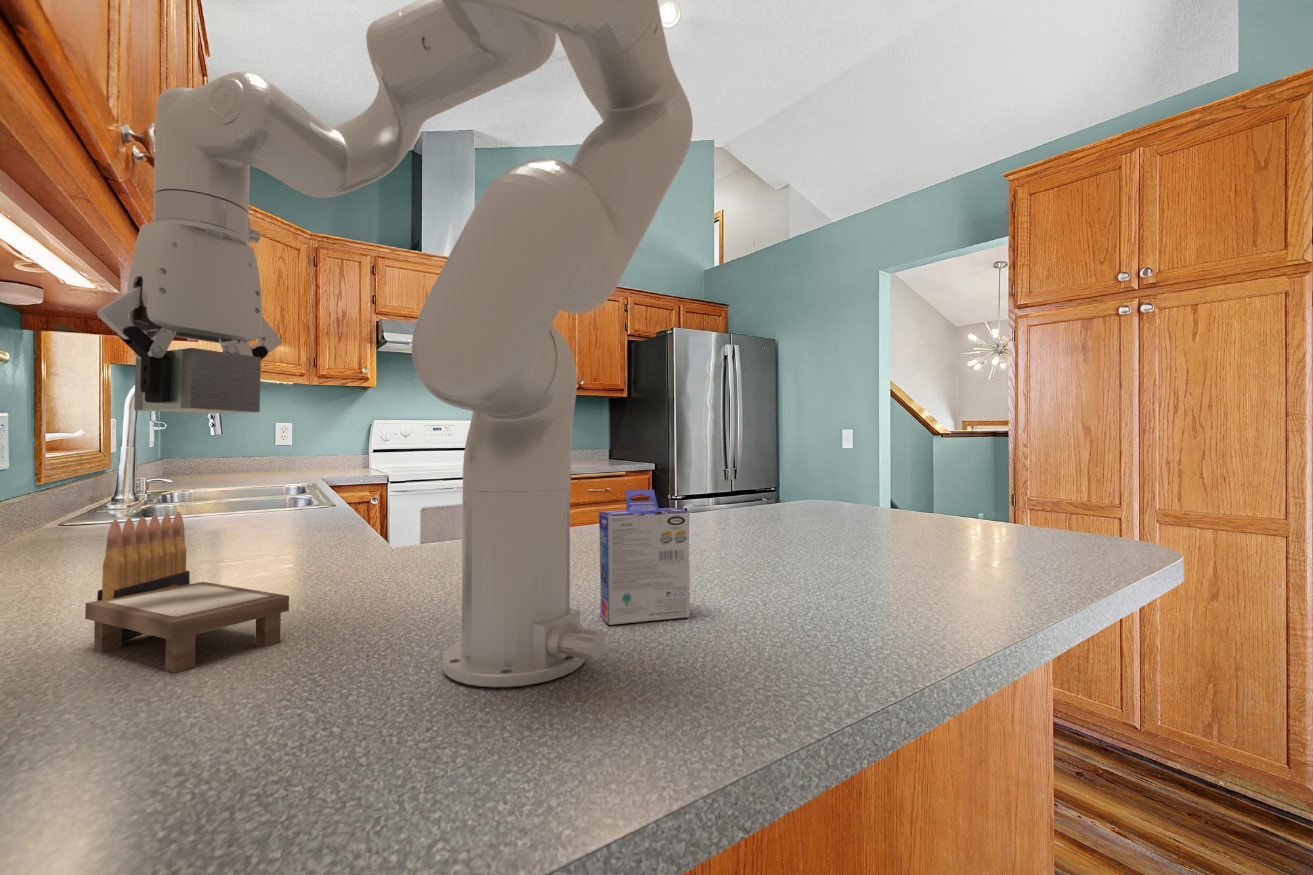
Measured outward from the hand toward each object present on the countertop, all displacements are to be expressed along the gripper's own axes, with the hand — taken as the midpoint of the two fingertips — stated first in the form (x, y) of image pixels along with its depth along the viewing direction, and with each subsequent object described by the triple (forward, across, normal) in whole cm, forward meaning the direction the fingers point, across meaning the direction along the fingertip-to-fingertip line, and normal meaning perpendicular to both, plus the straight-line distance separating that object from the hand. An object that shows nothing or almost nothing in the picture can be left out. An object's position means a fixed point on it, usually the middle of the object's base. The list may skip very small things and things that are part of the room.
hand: (197, 402), depth 58 cm
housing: (+1, 0, 0) cm, 1 cm away
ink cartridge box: (+24, -28, +36) cm, 51 cm away
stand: (+24, 0, 0) cm, 24 cm away
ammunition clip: (+24, -1, -10) cm, 26 cm away
